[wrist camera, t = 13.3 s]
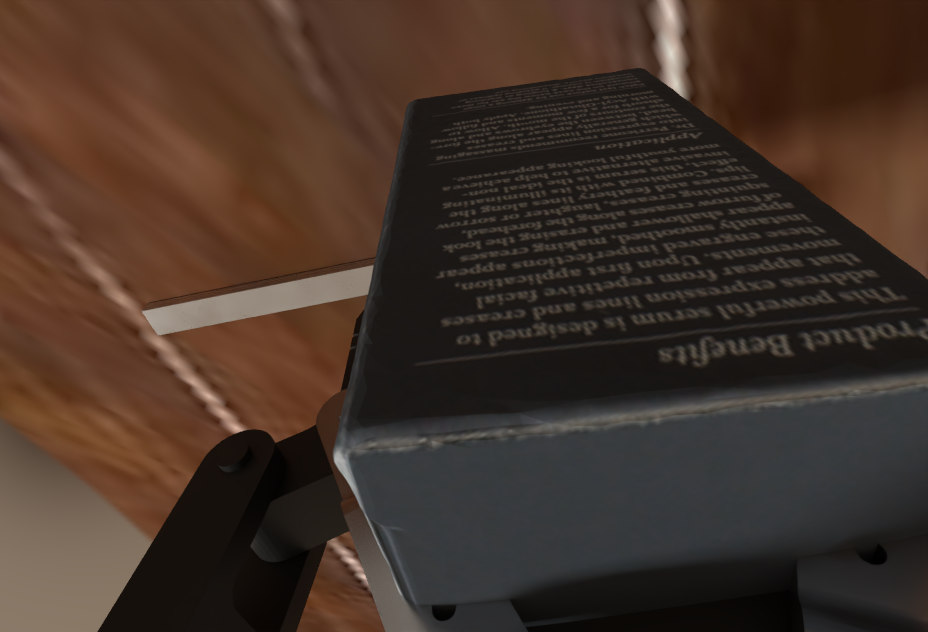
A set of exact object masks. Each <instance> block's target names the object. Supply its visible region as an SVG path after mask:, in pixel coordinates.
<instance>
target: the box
mask: <svg viewBox="0 0 928 632" xmlns="http://www.w3.org/2000/svg"><path fill="white" fill-rule="evenodd" d="M333 458H334V462H335V464H336V466H337V468H338V469H339V471H340V472H341V473H342V475H343V476H344V477H345V479H346V480H347V482H348V483H349V485H350V487H351V489H352V491H353V493H354V495H355V497H356V499H357V501H358V503H359V505H360V507H361V509H362V510H363V512H364V514H365V516H366V518H367V521H368V523H369V525H370V528H371V530H372V532H373V535H374V537H375V539H376V541H377V543H378V546H379V548H380V550H381V552H382V554H383V556H384V558H385V560H386V562H387V563H388V565H389V568H390V571H391V574H392V576H393V579H394V582H395V584H396V587H397V589H398V592H399V594H400V595H402V596H404V597H406V598H408V599H410V600H411V601H413V602H414V603H416V604H417V605H433V606H434V608H435V610H436V612H437V615H438V617H439V619H440V621H447V620H449V619H450V618H451V617H452V616H453V615H454V613H455V611H456V604H466V603H476V602H486V601H496V600H505V599H509V600H510V602H511V604H512V605H513V607H514V609H515V611H516V612H517V614H518V616H519V617H520V619H521V621H522V623H523V624H524V626H525V627H530V626H539V625H548V624H557V623H564V622H572V621H579V620H586V619H593V618H601V617H608V616H615V615H622V614H629V613H636V612H643V611H650V610H657V609H664V608H671V607H678V606H685V605H692V604H699V603H706V602H712V601H719V600H726V599H733V598H740V597H747V596H753V595H760V594H767V593H773V592H780V591H786V590H790V586H789V585H790V581H791V577H792V574H793V570H794V566H795V562H796V558H797V557H801V556H807V555H814V554H820V553H826V552H832V551H838V550H844V549H849V548H855V551H856V553H857V555H858V556H859V557H860V558H861V559H862V560H864V561H865V562H867V563H871V560H872V558H873V555H874V553H875V550H876V547H877V545H878V543H883V542H888V541H894V540H899V539H904V538H909V537H913V536H917V535H922V534H926V533H928V279H926V278H925V277H924V276H923V275H922V274H921V273H920V272H918V271H917V270H916V269H914V268H913V267H911V266H910V265H908V264H907V263H906V262H904V261H903V260H901V259H900V258H898V257H897V256H896V255H894V254H893V253H892V252H890V251H889V250H888V249H886V248H885V247H884V246H882V245H881V244H880V243H878V242H877V241H876V240H874V239H873V238H872V237H871V236H869V235H868V234H867V233H866V232H865V231H863V230H862V229H860V228H859V227H857V226H856V225H854V224H853V223H852V222H850V221H849V220H848V219H846V218H845V217H844V216H842V215H841V214H840V213H838V212H837V211H836V210H834V209H833V208H832V207H830V206H829V205H827V204H826V203H824V202H823V201H821V200H820V199H819V198H817V197H816V196H815V195H814V194H812V193H811V192H810V191H809V190H807V189H806V188H805V187H804V186H803V185H802V184H800V183H798V182H797V181H795V180H794V179H793V178H791V177H790V176H789V175H787V174H786V173H784V172H783V171H781V170H780V169H778V168H777V167H775V166H774V165H773V164H771V163H770V162H769V161H768V160H766V159H765V158H764V157H763V156H762V155H760V154H759V153H758V152H756V151H755V150H753V149H752V148H750V147H749V146H748V145H746V144H745V143H743V142H742V141H741V140H739V139H738V138H736V137H735V136H734V135H732V134H731V133H730V132H729V131H728V130H726V129H725V128H724V127H722V126H721V125H720V124H718V123H717V122H716V121H714V120H713V119H711V118H709V117H707V116H706V115H705V114H704V113H703V112H702V111H701V110H699V109H698V108H697V107H695V106H693V105H692V104H691V103H690V102H689V101H687V100H686V99H684V98H683V97H681V96H680V95H679V94H678V93H677V92H675V91H674V90H673V89H672V88H670V87H668V86H667V85H666V84H664V83H663V82H661V81H660V80H659V79H657V78H656V77H655V76H653V75H652V74H650V73H649V72H648V71H646V70H645V69H642V68H635V69H628V70H622V71H617V72H612V73H603V74H594V75H590V76H581V77H573V78H568V79H563V80H551V81H545V82H538V83H531V84H524V85H517V86H510V87H501V88H495V89H488V90H480V91H474V92H467V93H460V94H451V95H445V96H436V97H430V98H423V99H416V100H414V101H412V102H410V103H409V104H408V106H407V108H406V112H405V119H404V124H403V130H402V134H401V139H400V144H399V148H398V153H397V159H396V164H395V169H394V174H393V179H392V183H391V188H390V193H389V197H388V201H387V206H386V210H385V215H384V219H383V226H382V231H381V236H380V240H379V244H378V249H377V254H376V259H375V263H374V266H373V271H372V277H371V282H370V287H369V291H368V296H367V300H366V305H365V310H364V313H363V317H362V323H361V328H360V333H359V338H358V342H357V348H356V354H355V360H354V363H353V366H352V370H351V376H350V381H349V385H348V389H347V393H346V396H345V400H344V404H343V408H342V413H341V418H340V423H339V428H338V433H337V437H336V441H335V445H334V448H333Z"/></svg>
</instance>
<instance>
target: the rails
mask: <svg viewBox="0 0 928 632" xmlns="http://www.w3.org/2000/svg"><path fill="white" fill-rule="evenodd" d="M375 259H376V258H373V259H368V260H363V261H358V262H353V263H348V264H343V265H338V266H333V267H328V268H323V269H318V270H313V271H308V272H303V273H298V274H293V275H288V276H283V277H278V278H273V279H268V280H263V281H258V282H253V283H248V284H243V285H238V286H233V287H228V288H223V289H218V290H213V291H208V292H203V293H198V294H193V295H188V296H183V297H178V298H173V299H168V300H163V301H158V302H153V303H148V304H147V305H146V306H145V308H144V309H143V310H142V312H143V314H144V315H145V317H146V318H147V320H148V321H149V323H150V324H151V326H152V327H153V329H154V330H155V332H156V333H157V335H162V334H167V333H173V332H178V331H183V330H188V329H193V328H198V327H203V326H208V325H214V324H219V323H224V322H229V321H234V320H239V319H244V318H249V317H255V316H260V315H265V314H270V313H275V312H280V311H285V310H290V309H296V308H301V307H306V306H311V305H316V304H321V303H326V302H331V301H337V300H342V299H347V298H352V297H357V296H362V295H367V294H368V291H369V287H370V282H371V277H372V271H373V266H374V263H375Z"/></svg>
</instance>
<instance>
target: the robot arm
mask: <svg viewBox="0 0 928 632" xmlns="http://www.w3.org/2000/svg"><path fill="white" fill-rule="evenodd" d="M364 310H365V309H364ZM364 310H363V312H362V313H361V314H360V316H359V317H358V318H357V320H356V324H355V329H354V333H353V335H354V337H353V338H352V342H351V350H350V352H349V356H348V361H347V365H346V370H345V374H344V379H343V383H342V388H341V391H340V392H339V393H337V394H335V395H334V396H332V397H331V398H330V399H329V400H328V401H327V402H326V403H325V404H324V405H323V406H322V408H321V409H320V411H319V413H318V415H317V419H316V425H314V426H313V427H311V428H309V429H307V430H305V431H303V432H300V433H298V434H296V435H293V436H291V437H289V438H286V439H284V440H282V441H279V442H277V443H275V442H274V440H273V438H272V437H271V435H269V434H268V433H267V432H265V431H262V430H246V431H242V432H239V433H236V434H234V435H232V436H229V437H228V438H226V439H224V440H223V441H221V442H220V443H219V444H217V445H216V446H215V447H214V448H213V449H212V450H211V451H210V452H209V453H208V454H207V455H206V456H205V458H204V459H203V461H202V462H201V464H200V466H199V467H198V469H197V471H196V472H195V474H194V475H193V477H192V479H191V480H190V482H189V484H188V485H187V487H186V488H185V490H184V492H183V493H182V495H181V497H180V498H179V500H178V502H177V503H176V505H175V506H174V508H173V510H172V511H171V513H170V515H169V516H168V518H167V519H166V521H165V523H164V524H163V526H162V528H161V529H160V531H159V532H158V534H157V536H156V537H155V539H154V541H153V542H152V544H151V546H150V547H149V549H148V550H147V552H146V554H145V555H144V557H143V559H142V560H141V562H140V563H139V565H138V567H137V568H136V570H135V572H134V573H133V575H132V577H131V578H130V580H129V581H128V583H127V585H126V586H125V588H124V590H123V591H122V593H121V594H120V596H119V598H118V599H117V601H116V603H115V604H114V606H113V607H112V609H111V611H110V612H109V614H108V616H107V617H106V619H105V620H104V622H103V624H102V625H101V627H100V629H99V630H98V632H296V630H297V628H298V625H299V622H300V619H301V616H302V613H303V610H304V607H305V605H306V602H307V599H308V596H309V593H310V590H311V587H312V584H313V581H314V579H315V576H316V573H317V570H318V567H319V564H320V561H321V558H322V555H323V553H324V550H325V547H326V544H327V541H329V540H331V539H333V538H335V537H337V536H339V535H341V534H343V533H346V532H348V531H350V533H351V536H352V539H353V542H354V545H355V547H356V550H357V553H358V556H359V559H360V561H361V564H362V567H363V570H364V572H365V575H366V578H367V581H368V584H369V586H370V589H371V592H372V595H373V598H374V600H375V603H376V606H377V609H378V612H379V614H380V617H381V620H382V623H383V626H384V628H385V631H386V632H928V533H926V534H922V535H917V536H913V537H909V538H904V539H899V540H894V541H888V542H883V543H878V545H877V547H876V550H875V553H874V555H873V558H872V560H871V563H867V562H865V561H864V560H862V559H861V558H860V557H859V556H858V555H857V553H856V551H855V548H849V549H844V550H838V551H832V552H826V553H820V554H814V555H807V556H801V557H797V558H796V562H795V566H794V570H793V574H792V577H791V581H790V585H789V586H790V590H786V591H780V592H773V593H767V594H760V595H753V596H747V597H740V598H733V599H726V600H719V601H712V602H706V603H699V604H692V605H685V606H678V607H671V608H664V609H657V610H650V611H643V612H636V613H629V614H622V615H615V616H608V617H601V618H593V619H586V620H579V621H572V622H564V623H557V624H548V625H539V626H530V627H525V626H524V624H523V623H522V621H521V619H520V617H519V616H518V614H517V612H516V611H515V609H514V607H513V605H512V604H511V602H510V600H509V599H505V600H496V601H486V602H476V603H466V604H456V611H455V613H454V615H453V616H452V617H451V618H450V619H449V620H447V621H440V619H439V617H438V615H437V612H436V610H435V608H434V606H433V605H417V604H416V603H414V602H413V601H411V600H410V599H408V598H406V597H404V596H402V595H400V594H399V592H398V589H397V587H396V584H395V582H394V579H393V576H392V574H391V571H390V568H389V565H388V563H387V562H386V560H385V558H384V556H383V554H382V552H381V550H380V548H379V546H378V543H377V541H376V539H375V537H374V535H373V532H372V530H371V528H370V525H369V523H368V521H367V518H366V516H365V514H364V512H363V510H362V509H361V507H360V505H359V503H358V501H357V499H356V497H355V495H354V493H353V491H352V489H351V487H350V485H349V483H348V482H347V480H346V479H345V477H344V476H343V475H342V473H341V472H340V471H339V469H338V468H337V466H336V464H335V462H334V458H333V448H334V445H335V441H336V437H337V433H338V428H339V423H340V418H341V413H342V408H343V404H344V400H345V396H346V393H347V389H348V385H349V381H350V376H351V370H352V366H353V363H354V360H355V354H356V348H357V342H358V338H359V333H360V328H361V323H362V317H363V313H364Z"/></svg>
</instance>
